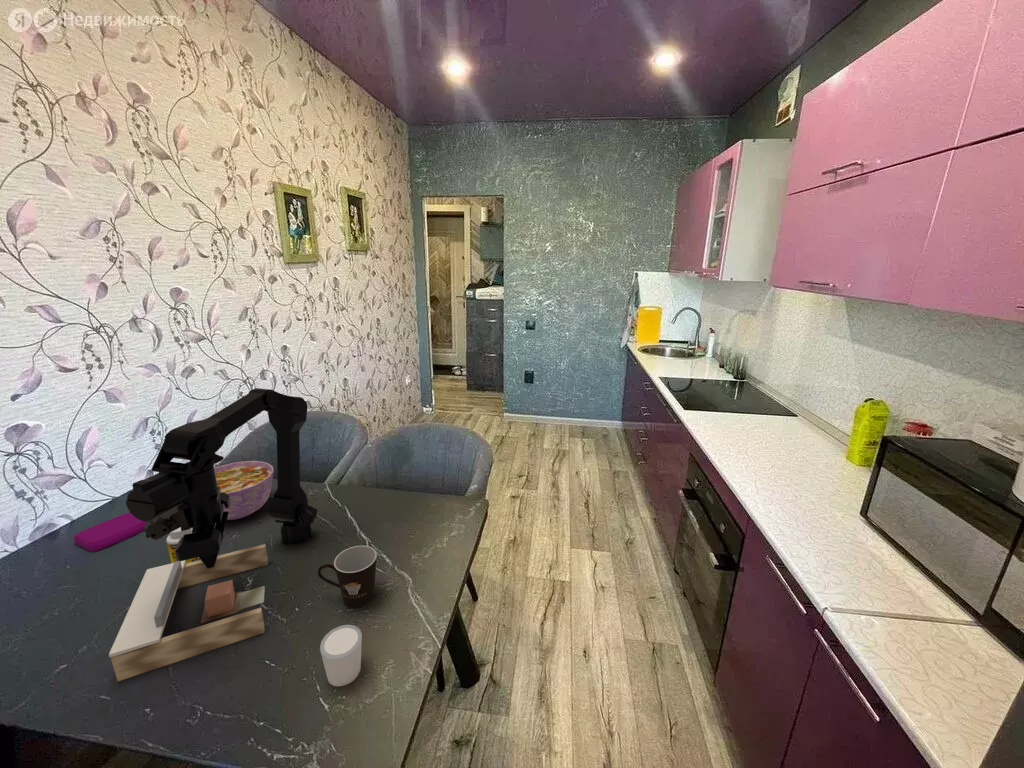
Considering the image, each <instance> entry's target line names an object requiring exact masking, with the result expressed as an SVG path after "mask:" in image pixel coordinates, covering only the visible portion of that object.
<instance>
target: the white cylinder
mask: <svg viewBox="0 0 1024 768" xmlns="http://www.w3.org/2000/svg"><path fill="white" fill-rule="evenodd" d="M362 637H363V633H362V631H361V629H360V628H359V627H357V626H356V625H353V624H344V625H343V624H342V625H338V626H337V627H334V628H332V629H331V630H330V631H329V632H327V633H326V634H325V635H324V637H323V638H322V640H321V642H320V647H319V651H320V654H321V657H322V662H323V667H324V671H325V674H326V678H327V680H328V683H329V684H330V685H332V686H333V687H343V686H347V685H349V684H351V683H352V682H354V681H355V679H356V678H357V677H358V676H359V674H360V672H361V669H362V665H361V664H362V646H363V645H362V642H363V641H362Z"/></svg>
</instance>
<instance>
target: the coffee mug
mask: <svg viewBox="0 0 1024 768" xmlns="http://www.w3.org/2000/svg"><path fill="white" fill-rule="evenodd" d="M377 556H378V555H377V551H376V550H375V548H373V547H371V546H369V545H355V546H352V547H349V548H346V549H344V550H342V551H340V553H338V554H337V556H336V557H335V559H334V560H333V564H330V563H326V564H323V565H321V566H319V568H318V569H317V576H318V577H319V578H320V579H321V580H323V581H324V582H326V583H328V584H329V585H331V586H334V587H336V588H339V590H340V593H341V597H342V602H343V604H344V606H346V607H347V608H350V609H359V608H362V607H365V606H366V605H368V604H369V603H371V601H372V600H373V599H374V597H375V588H376V587H375V585H376V573H377V572H376V571H377V558H378V557H377ZM325 568H330V569H332V570H333V571H334V572H335V574H336V578H337V581H338V583H337V582H335V581H332V580H330V579H328V578H326V576H323V574H322V573H321V572H322V570H323V569H325Z"/></svg>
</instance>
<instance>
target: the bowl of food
mask: <svg viewBox="0 0 1024 768" xmlns="http://www.w3.org/2000/svg"><path fill="white" fill-rule="evenodd" d="M214 469H215V475H216V480H217V486H218V487H220V489H221V492H220V493H222V492H224V493H226V494H228V495H229V496H230V502H231V503H230V507H229V508H228V509H226V508H225V505H224V504H221V505H223V506H224V511H223V512H229V513H228V518H227V521H233V520H234V521H236V520H240V519H243V518H246V517H248V516H251V515H252V514H253V513H254V512H257V511H258V510H260V509H261V508H262V507H264V505H265V503H266V502H268V498H269V497H271V496H270V495H271V491H272V485H273V477H274V466H273V465H271V464H270V463H269V462H265V461H262V460H261V461H260V460H259V461H258V460H246V461H237V462H231V463H227V464H224V465H219V466H216V467H214Z"/></svg>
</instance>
